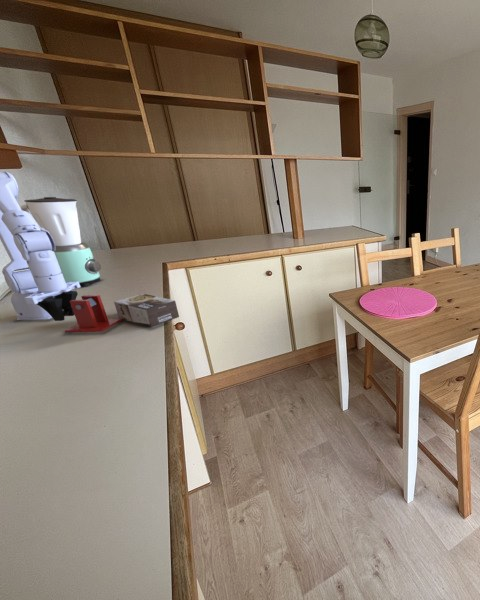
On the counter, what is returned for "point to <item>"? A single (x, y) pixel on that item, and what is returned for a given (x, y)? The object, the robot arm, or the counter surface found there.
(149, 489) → the counter surface
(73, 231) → the mint green blender
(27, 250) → the robot arm
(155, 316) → the coffee box
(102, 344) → the counter surface
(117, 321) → the lever bracket
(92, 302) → the lever
